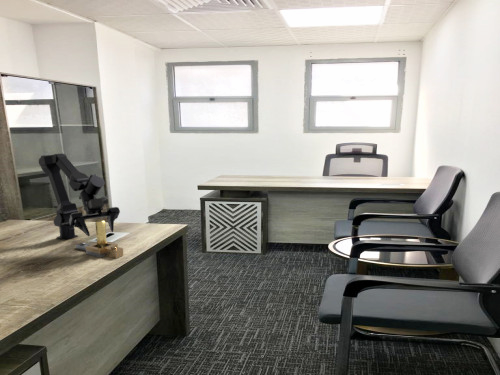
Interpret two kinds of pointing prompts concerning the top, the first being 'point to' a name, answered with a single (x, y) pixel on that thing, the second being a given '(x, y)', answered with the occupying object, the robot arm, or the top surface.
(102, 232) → the brass pin
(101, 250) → the square frame with handle
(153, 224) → the top surface
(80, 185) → the robot arm
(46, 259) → the top surface
